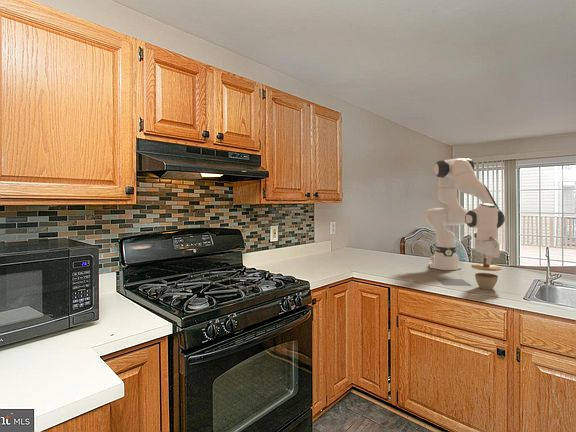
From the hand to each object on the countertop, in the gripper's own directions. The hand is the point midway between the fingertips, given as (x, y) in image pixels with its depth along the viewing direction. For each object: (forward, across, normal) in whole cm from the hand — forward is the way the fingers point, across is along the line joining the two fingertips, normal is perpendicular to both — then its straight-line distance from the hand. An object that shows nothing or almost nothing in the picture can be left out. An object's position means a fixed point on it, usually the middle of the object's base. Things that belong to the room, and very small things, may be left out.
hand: (486, 263), depth 171 cm
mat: (+13, +11, +12) cm, 21 cm away
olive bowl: (+13, 0, 0) cm, 13 cm away
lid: (+2, 0, 0) cm, 2 cm away
